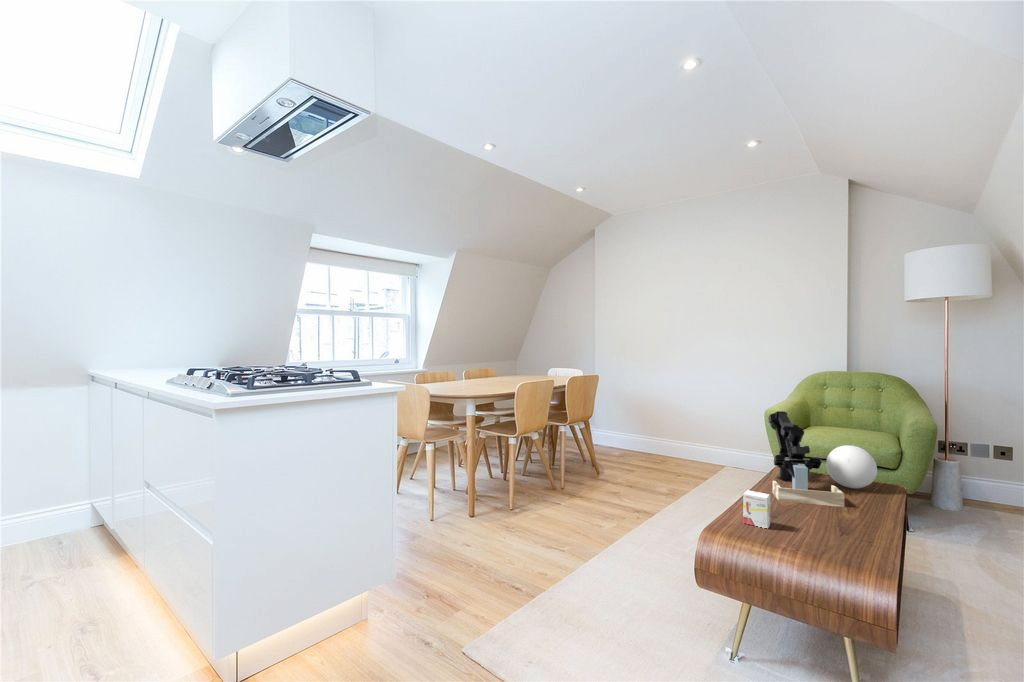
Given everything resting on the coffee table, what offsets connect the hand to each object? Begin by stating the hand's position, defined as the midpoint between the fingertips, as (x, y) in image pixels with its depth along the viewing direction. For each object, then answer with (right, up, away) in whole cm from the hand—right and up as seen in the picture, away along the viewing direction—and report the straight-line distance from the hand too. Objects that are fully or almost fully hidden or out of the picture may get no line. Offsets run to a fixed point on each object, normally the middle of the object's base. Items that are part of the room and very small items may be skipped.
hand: (800, 477), depth 213 cm
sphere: (+31, -8, +10) cm, 33 cm away
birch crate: (-3, -7, -9) cm, 12 cm away
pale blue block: (0, -6, +1) cm, 6 cm away
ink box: (-39, -7, -36) cm, 54 cm away
